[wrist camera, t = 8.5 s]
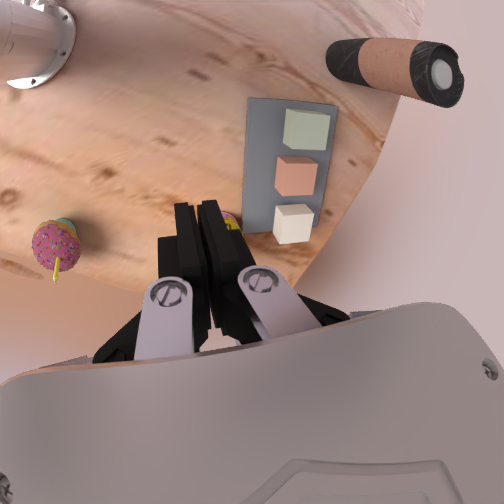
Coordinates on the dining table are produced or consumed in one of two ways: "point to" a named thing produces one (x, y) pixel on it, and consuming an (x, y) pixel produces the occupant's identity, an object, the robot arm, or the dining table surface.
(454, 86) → the travel mug
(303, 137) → the button sage
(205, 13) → the dining table surface
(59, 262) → the cupcake
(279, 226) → the button cream
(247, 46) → the dining table surface
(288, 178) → the button terracotta
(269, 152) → the board
